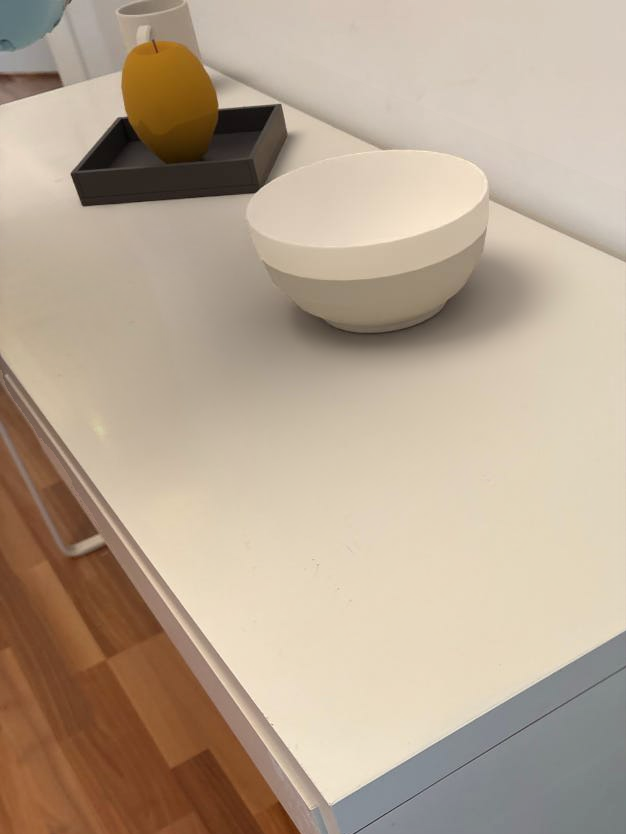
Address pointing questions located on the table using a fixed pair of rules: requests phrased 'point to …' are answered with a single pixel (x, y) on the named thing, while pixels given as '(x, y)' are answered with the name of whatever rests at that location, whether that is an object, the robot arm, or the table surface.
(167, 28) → the mug
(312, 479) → the table surface
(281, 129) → the tray
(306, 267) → the bowl
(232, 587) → the table surface
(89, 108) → the table surface
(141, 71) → the apple
